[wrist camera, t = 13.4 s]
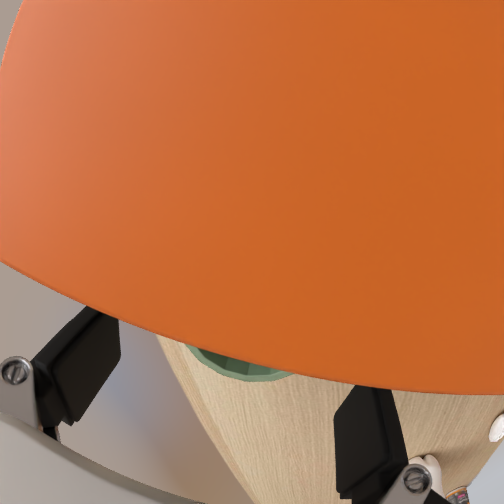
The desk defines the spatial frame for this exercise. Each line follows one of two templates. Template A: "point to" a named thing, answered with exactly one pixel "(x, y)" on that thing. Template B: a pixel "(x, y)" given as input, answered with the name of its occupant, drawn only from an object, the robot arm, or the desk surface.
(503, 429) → the white oval pebble
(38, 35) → the button
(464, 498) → the pill bottle
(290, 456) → the desk surface
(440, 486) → the water bottle
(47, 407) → the robot arm
